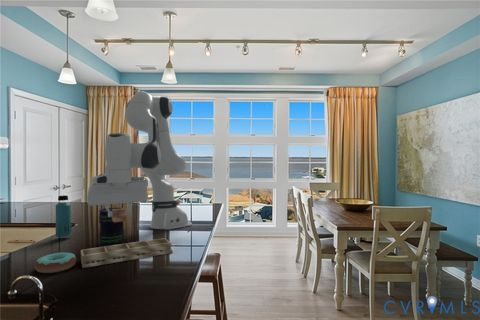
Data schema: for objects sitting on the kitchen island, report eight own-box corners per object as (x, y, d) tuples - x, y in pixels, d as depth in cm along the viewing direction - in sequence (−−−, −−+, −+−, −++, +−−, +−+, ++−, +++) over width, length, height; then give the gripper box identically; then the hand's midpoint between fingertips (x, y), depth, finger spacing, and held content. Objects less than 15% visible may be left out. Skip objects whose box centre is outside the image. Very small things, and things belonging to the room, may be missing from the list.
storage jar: (129, 242, 130) (128, 208, 130) (112, 248, 121) (112, 211, 121) (111, 240, 133) (110, 207, 134) (93, 246, 124) (93, 210, 124)
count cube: (123, 219, 108) (123, 208, 108) (126, 220, 105) (125, 209, 105) (112, 220, 106) (112, 209, 106) (113, 222, 103) (113, 210, 103)
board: (164, 246, 123) (164, 238, 123) (172, 252, 114) (172, 243, 114) (80, 259, 107) (80, 249, 107) (82, 268, 98) (82, 257, 98)
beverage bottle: (64, 240, 133) (63, 196, 133) (51, 240, 134) (51, 196, 134) (74, 237, 139) (74, 194, 139) (62, 236, 141) (62, 194, 141)
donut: (71, 272, 95) (71, 260, 95) (28, 277, 91) (28, 264, 92) (80, 260, 106) (80, 249, 106) (42, 264, 103) (42, 252, 103)
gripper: (145, 176, 114) (145, 211, 114) (86, 178, 103) (86, 217, 103) (150, 176, 109) (150, 214, 109) (88, 179, 98) (88, 220, 98)
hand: (118, 216), depth 106 cm, fingers closed on count cube, 4 cm apart
